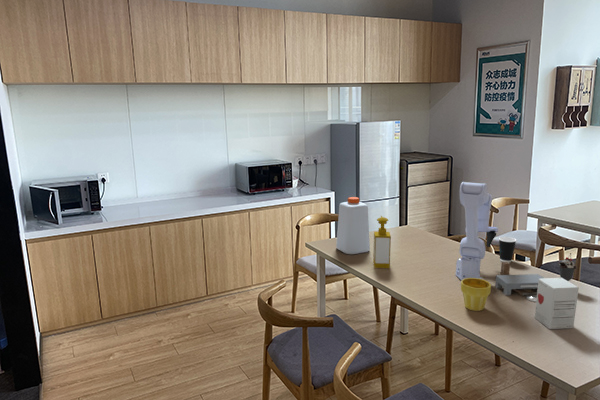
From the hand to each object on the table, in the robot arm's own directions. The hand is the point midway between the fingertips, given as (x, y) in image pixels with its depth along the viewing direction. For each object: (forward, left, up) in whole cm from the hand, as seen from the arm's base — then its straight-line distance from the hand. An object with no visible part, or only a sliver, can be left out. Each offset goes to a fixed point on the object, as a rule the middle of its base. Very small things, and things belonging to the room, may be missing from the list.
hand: (480, 246), depth 210 cm
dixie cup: (+16, +6, -10) cm, 20 cm away
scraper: (+5, -24, -10) cm, 26 cm away
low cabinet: (+5, -29, -9) cm, 31 cm away
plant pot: (-21, -43, -10) cm, 49 cm away
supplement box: (+1, -57, -10) cm, 58 cm away
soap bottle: (-45, +7, -10) cm, 47 cm away
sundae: (+23, -29, -10) cm, 38 cm away
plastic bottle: (-55, +29, -10) cm, 63 cm away
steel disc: (+5, -38, -10) cm, 39 cm away
